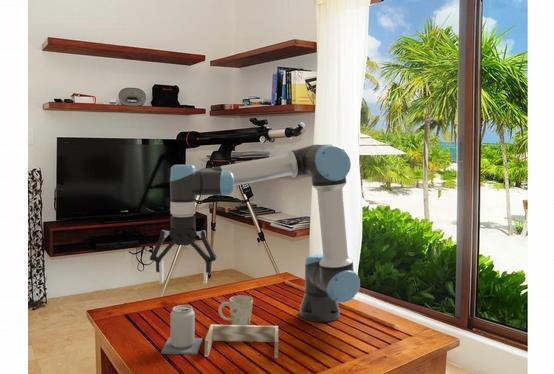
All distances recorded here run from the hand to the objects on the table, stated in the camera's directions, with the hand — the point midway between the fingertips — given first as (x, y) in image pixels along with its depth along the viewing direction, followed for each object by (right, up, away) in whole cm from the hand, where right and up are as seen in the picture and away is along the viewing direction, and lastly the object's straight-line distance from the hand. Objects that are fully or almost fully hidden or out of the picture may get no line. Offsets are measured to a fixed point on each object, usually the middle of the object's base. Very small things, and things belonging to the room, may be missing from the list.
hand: (183, 282), depth 150 cm
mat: (-1, -20, +2) cm, 21 cm away
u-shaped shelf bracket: (+18, -21, +1) cm, 28 cm away
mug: (+14, -20, +20) cm, 31 cm away
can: (-1, -20, +2) cm, 20 cm away
